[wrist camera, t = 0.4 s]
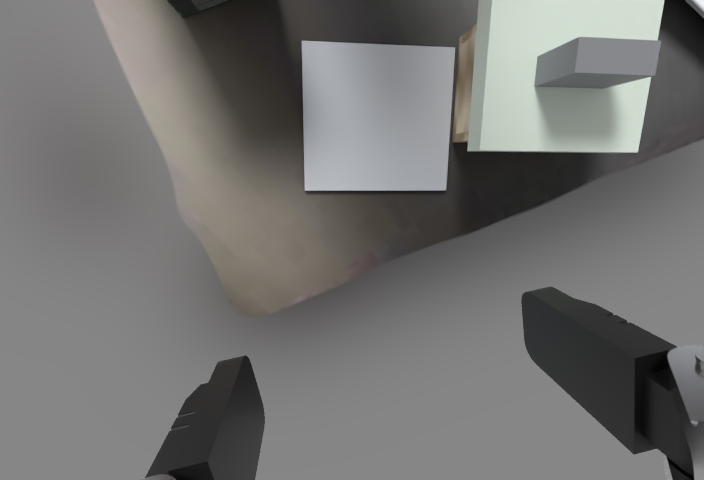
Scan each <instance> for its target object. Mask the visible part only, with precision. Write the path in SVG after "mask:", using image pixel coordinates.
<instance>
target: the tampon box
mask: <svg viewBox="0 0 704 480" xmlns="http://www.w3.org/2000/svg"><path fill="white" fill-rule="evenodd" d="M167 1H168V2H169V3H170V4H171V5H172V6H173V7H174V8H175V10H176V11H177V12H178V13H179V14H180V15H181V16H182V17H183V18H184V17H187V16H190V15H192V14H195V13H198V12H200V11H203V10H205V9H208V8H211V7H213V6H216V5H219V4H221V3H224V2H227V1H229V0H167Z"/></svg>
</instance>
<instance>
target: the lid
mask: <svg viewBox="0 0 704 480" xmlns="http://www.w3.org/2000/svg"><path fill="white" fill-rule="evenodd" d="M663 6H664V0H479V2H478V15H477V29H476V42H475V55H474V68H473V82H472V95H471V108H470V121H469V135H468V148H467V151H487V152H571V153H633V152H638V148H639V143H640V137H641V131H642V126H643V120H644V114H645V109H646V103H647V97H648V91H649V86H650V80H651V77H652V76H655V73H656V67H657V62H658V56H659V50H660V45H661V41H657V40H658V35H659V29H660V23H661V17H662V12H663Z"/></svg>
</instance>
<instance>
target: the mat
mask: <svg viewBox="0 0 704 480" xmlns="http://www.w3.org/2000/svg"><path fill="white" fill-rule="evenodd" d="M454 60H455V48H453V47H431V46H409V45H386V44H364V43H341V42H319V41H302V77H303V127H304V176H305V191H415V190H446V184H447V168H448V153H449V137H450V122H451V106H452V91H453V75H454Z"/></svg>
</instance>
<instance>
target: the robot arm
mask: <svg viewBox="0 0 704 480" xmlns="http://www.w3.org/2000/svg"><path fill="white" fill-rule="evenodd" d="M522 314H523V326H524V327H523V328H524V340H525V345H526V349H527V351H528V353H529V355H530V357H531V359H532V360H533V361H534V362H535V363H536V364H537V365H538V366H539V367H540V368H541V369H542V370H543V371H544V372H545V373H546V374H547V375H549V376H550V377H551V378H552V379H553V380H554V381H555V382H556V383H557V384H558V385H559V386H560V387H562V388H563V389H564V390H565V391H566V392H567V393H568V394H569V395H570V396H571V397H572V398H573V399H574V400H576V401H577V402H578V403H579V404H580V405H581V406H582V407H583V408H584V409H585V410H586V411H587V412H589V413H590V414H591V415H592V416H593V417H594V418H595V419H596V420H597V421H598V422H600V423H601V424H602V425H603V426H604V427H605V428H606V429H607V430H608V431H609V432H610V433H611V434H613V435H614V436H615V437H616V438H617V439H618V440H619V441H620V442H621V443H622V444H623V445H624V446H626V448H628V449H629V450H630V451H631V452H632V453H633V454H638V453H641V452H645V451H649V450H653V449H657V448H658V449H659V450H660V451H661V452H662V453H664V470H665V474H666V478H667V480H704V345H686V346H680V347H676V346H675V345H673V344H671V343H669V342H667V341H665V340H663V339H661V338H659V337H657V336H655V335H653V334H651V333H650V332H648V331H646V330H644V329H642V328H640V327H638V326H636V325H634V324H632V323H627V321H626V320H625V319H623V318H621V317H619V316H617V315H613V313H611V312H609V311H607V310H605V309H603V308H602V307H600V306H597V305H595V304H592V303H588V302H585V301H581V300H577V299H574V298H572V297H570V296H568V295H566V294H565V293H562V292H561V291H559V290H557V289H555V288H553V287H547V288H542V289H538V290H534V291H529V292H525V293H524V294H523V295H522ZM264 424H265V416H264V408H263V403H262V399H261V396H260V392H259V389H258V386H257V382H256V379H255V376H254V372H253V369H252V365H251V363H250V360H249V358H248V357H247V356H241V357H237V358H232V359H228V360H224V361H220V362H218V364H217V365H216V367H215V369H214V372H213V374H212V376H211V379H210V380H209V382H208V383H206V384H201V385H200V386H199V387H198V388H197V389H196V390H195V391H194V392H193V393H192V394H191V395H190V396H189V397H188V398H187V399H186V400H185V402H184V404H183V406H182V408H181V410H180V412H179V414H178V418H176V420H175V422H174V424H173V425H172V427H171V431H169V433H168V435H167V437H166V439H165V441H164V443H163V445H162V446H161V449H160V450H159V452H158V454H157V456H156V458H155V460H154V462H153V464H152V466H151V468H150V470H149V471H148V474H147V475H146V477H145V479H142V480H255V476H256V471H257V465H258V459H259V454H260V448H261V442H262V437H263V431H264Z"/></svg>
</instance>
